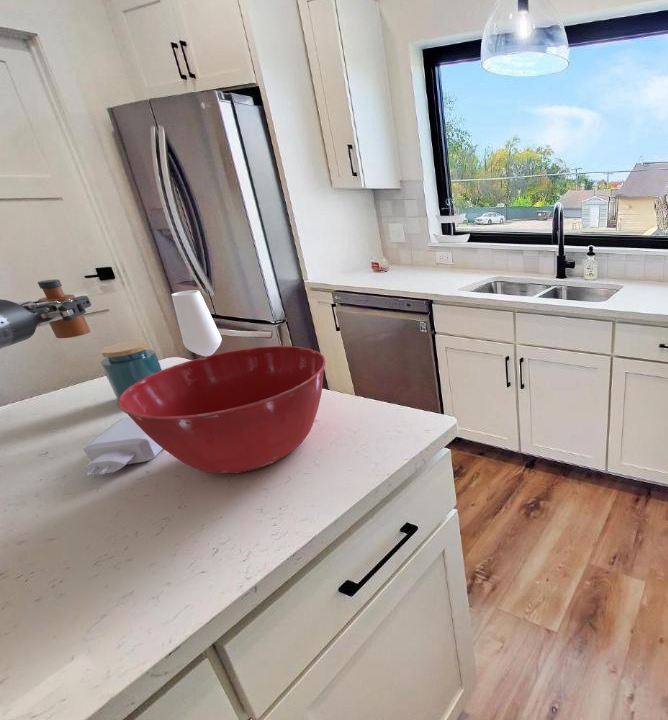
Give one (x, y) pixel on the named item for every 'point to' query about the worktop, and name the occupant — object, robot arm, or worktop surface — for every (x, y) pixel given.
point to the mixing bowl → (230, 406)
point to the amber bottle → (56, 293)
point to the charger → (119, 448)
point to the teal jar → (128, 364)
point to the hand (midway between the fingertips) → (71, 301)
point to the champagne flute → (196, 323)
